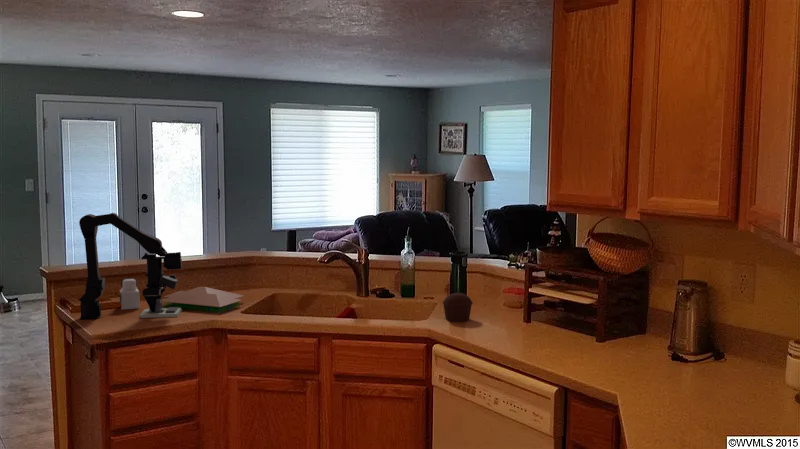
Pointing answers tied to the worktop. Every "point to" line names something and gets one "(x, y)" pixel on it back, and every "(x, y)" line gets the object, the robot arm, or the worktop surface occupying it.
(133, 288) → the medicine bottle
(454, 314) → the muffin
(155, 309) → the block
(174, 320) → the worktop surface
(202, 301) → the house
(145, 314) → the plate
